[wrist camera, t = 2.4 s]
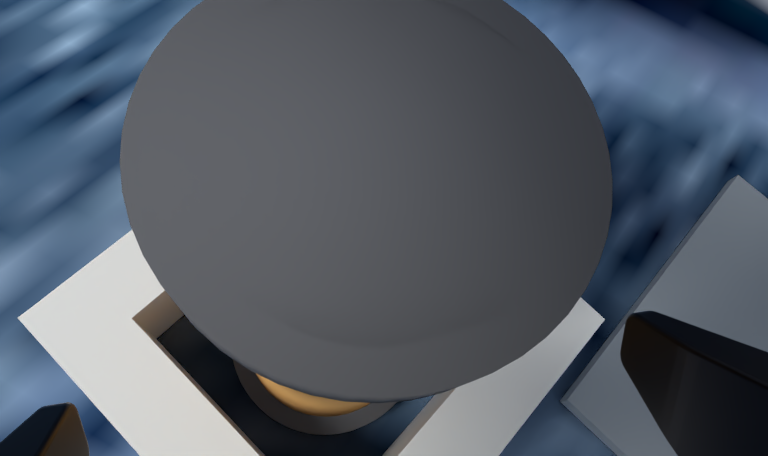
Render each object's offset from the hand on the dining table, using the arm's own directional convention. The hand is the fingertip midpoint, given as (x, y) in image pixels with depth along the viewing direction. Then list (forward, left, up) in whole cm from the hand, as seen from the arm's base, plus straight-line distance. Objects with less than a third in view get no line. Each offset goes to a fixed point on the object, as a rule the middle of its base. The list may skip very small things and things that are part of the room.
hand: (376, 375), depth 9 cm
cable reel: (+2, -1, -10) cm, 10 cm away
